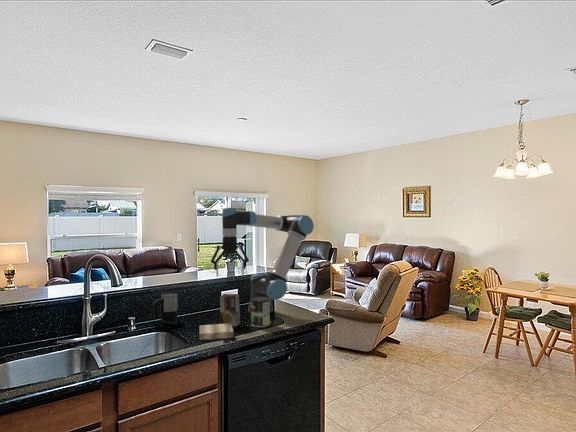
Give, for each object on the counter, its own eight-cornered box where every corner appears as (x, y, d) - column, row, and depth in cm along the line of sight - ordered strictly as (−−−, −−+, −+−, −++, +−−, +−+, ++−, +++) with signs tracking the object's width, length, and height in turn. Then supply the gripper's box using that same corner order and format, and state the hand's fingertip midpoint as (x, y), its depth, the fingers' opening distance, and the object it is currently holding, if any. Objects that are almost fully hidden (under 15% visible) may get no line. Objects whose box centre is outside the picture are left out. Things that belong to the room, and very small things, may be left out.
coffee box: (240, 323, 202) (240, 293, 202) (236, 326, 195) (235, 296, 195) (224, 322, 204) (224, 293, 204) (219, 325, 198) (219, 295, 198)
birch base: (231, 328, 192) (231, 323, 192) (233, 337, 178) (233, 331, 178) (199, 331, 188) (199, 325, 188) (199, 340, 175) (199, 333, 175)
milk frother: (170, 318, 213) (170, 292, 213) (190, 322, 205) (190, 295, 205) (150, 324, 201) (149, 297, 201) (169, 328, 193) (169, 300, 193)
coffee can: (253, 328, 193) (253, 301, 193) (249, 322, 203) (249, 297, 203) (272, 326, 196) (272, 299, 196) (267, 321, 206) (267, 295, 206)
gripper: (206, 237, 193) (206, 277, 193) (253, 236, 199) (254, 275, 199) (205, 236, 200) (206, 275, 200) (251, 235, 206) (252, 273, 206)
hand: (230, 275), depth 199 cm, fingers open, 13 cm apart
